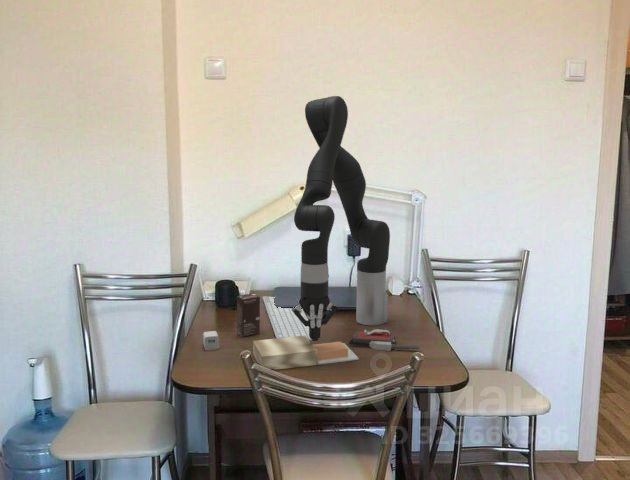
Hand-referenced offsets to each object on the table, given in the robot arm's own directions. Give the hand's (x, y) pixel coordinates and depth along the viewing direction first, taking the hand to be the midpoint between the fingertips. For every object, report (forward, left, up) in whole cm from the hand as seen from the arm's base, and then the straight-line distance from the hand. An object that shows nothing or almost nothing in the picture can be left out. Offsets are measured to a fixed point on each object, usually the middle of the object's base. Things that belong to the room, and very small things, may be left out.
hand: (314, 339), depth 165 cm
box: (+14, -23, -5) cm, 27 cm away
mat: (-5, 0, -5) cm, 7 cm away
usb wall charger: (+26, -17, -5) cm, 32 cm away
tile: (-4, +1, -4) cm, 6 cm away
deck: (+9, 0, -5) cm, 10 cm away
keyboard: (-1, -34, -6) cm, 34 cm away
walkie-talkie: (-22, -2, -5) cm, 22 cm away
